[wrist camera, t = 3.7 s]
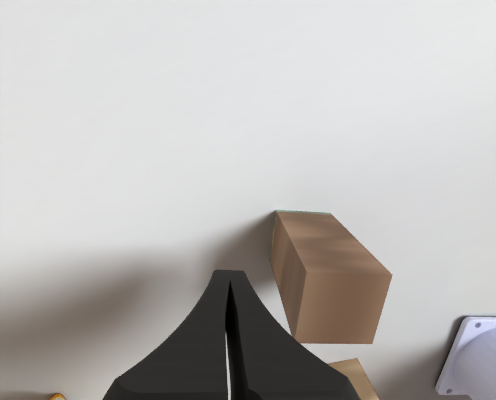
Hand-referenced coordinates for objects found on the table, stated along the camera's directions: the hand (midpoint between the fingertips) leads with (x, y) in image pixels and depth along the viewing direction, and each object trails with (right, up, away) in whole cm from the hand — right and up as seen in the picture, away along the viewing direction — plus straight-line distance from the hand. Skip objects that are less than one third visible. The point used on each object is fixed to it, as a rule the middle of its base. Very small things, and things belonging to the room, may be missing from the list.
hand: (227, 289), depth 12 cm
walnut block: (+4, +2, +6) cm, 8 cm away
